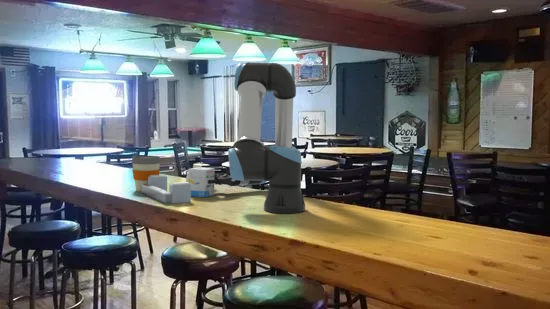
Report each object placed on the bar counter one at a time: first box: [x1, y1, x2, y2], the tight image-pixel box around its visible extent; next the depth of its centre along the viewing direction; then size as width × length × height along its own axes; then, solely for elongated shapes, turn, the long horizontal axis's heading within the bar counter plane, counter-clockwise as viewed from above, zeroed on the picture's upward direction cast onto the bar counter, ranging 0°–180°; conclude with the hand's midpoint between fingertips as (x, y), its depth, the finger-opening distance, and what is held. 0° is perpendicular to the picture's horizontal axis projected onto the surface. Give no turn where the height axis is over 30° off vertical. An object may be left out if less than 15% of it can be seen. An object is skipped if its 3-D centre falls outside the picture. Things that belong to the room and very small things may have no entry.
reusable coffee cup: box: [131, 155, 161, 192], centre depth 228 cm, size 13×13×15 cm
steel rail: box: [141, 184, 173, 205], centre depth 207 cm, size 30×3×4 cm, turn 31°
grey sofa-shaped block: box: [148, 174, 192, 204], centre depth 210 cm, size 30×8×8 cm, turn 31°
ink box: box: [187, 167, 216, 198], centre depth 216 cm, size 8×8×12 cm
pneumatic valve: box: [192, 161, 212, 168], centre depth 239 cm, size 6×12×12 cm, turn 37°
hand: (193, 180), depth 213 cm, fingers closed on ink box, 11 cm apart
